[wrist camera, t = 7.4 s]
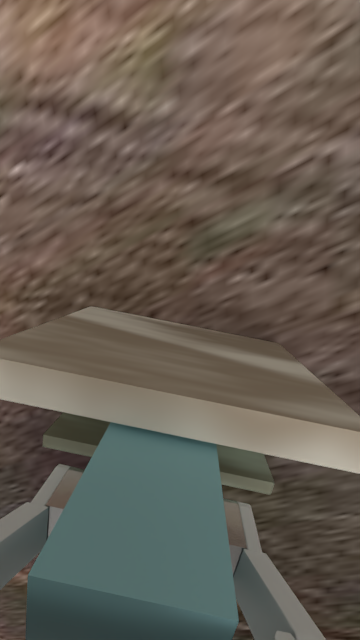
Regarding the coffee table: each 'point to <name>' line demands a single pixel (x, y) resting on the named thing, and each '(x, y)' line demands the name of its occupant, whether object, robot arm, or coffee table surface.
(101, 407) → the wall shelf
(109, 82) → the coffee table surface
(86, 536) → the teal rectangular block
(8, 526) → the robot arm
